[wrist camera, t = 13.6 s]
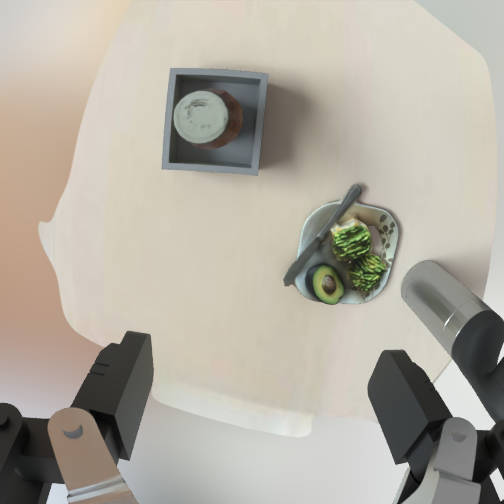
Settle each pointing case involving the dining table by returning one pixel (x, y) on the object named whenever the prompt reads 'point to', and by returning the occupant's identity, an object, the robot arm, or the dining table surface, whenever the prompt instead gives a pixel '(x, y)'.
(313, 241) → the salad plate
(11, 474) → the robot arm
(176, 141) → the bottle caddy
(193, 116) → the sauce bottle
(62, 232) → the dining table surface
